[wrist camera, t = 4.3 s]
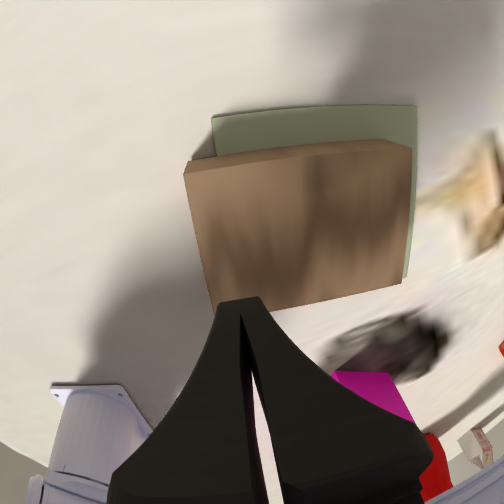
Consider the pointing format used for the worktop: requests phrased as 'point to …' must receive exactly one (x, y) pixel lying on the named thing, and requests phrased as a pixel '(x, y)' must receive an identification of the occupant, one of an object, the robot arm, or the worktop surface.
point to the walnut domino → (301, 220)
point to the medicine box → (502, 348)
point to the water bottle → (435, 472)
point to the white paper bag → (477, 447)
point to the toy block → (375, 390)
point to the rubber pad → (321, 133)
